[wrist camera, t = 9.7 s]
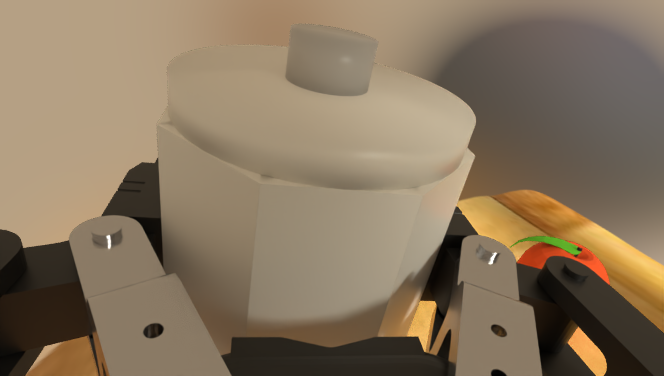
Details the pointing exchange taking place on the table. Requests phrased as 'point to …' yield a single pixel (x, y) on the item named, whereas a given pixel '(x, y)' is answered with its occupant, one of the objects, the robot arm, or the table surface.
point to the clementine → (560, 254)
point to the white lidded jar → (306, 186)
